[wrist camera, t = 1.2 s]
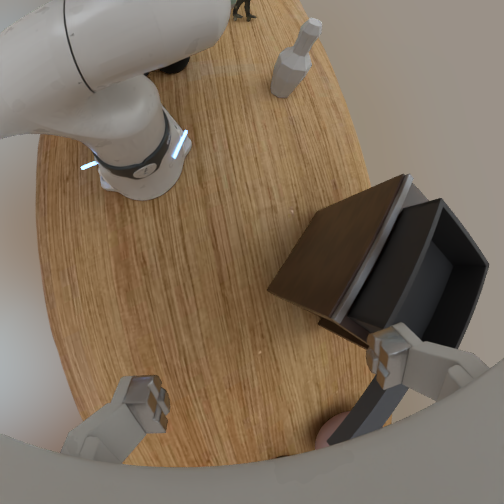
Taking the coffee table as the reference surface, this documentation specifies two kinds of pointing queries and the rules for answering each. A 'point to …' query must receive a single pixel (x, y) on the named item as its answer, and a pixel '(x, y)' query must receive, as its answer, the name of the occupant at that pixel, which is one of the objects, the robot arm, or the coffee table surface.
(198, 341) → the coffee table surface
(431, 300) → the basket
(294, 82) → the faceted bottle
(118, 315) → the coffee table surface
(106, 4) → the robot arm
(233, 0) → the coffee cup
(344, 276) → the stand
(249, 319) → the coffee table surface
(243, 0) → the statue
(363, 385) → the coffee table surface
